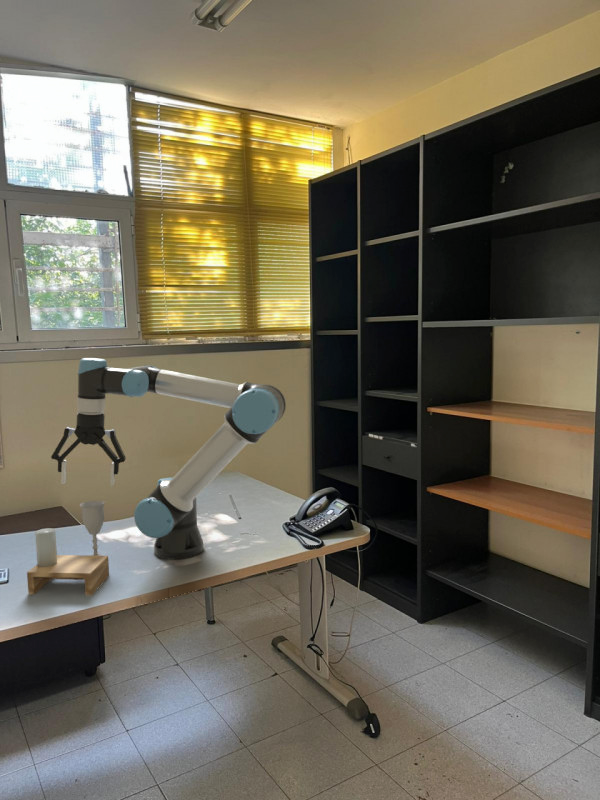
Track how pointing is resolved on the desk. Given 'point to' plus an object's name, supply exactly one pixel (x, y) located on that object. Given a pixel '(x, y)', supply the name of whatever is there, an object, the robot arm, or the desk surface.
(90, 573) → the shelf
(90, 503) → the chalice
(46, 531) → the white glossy rounded part
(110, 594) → the desk surface
